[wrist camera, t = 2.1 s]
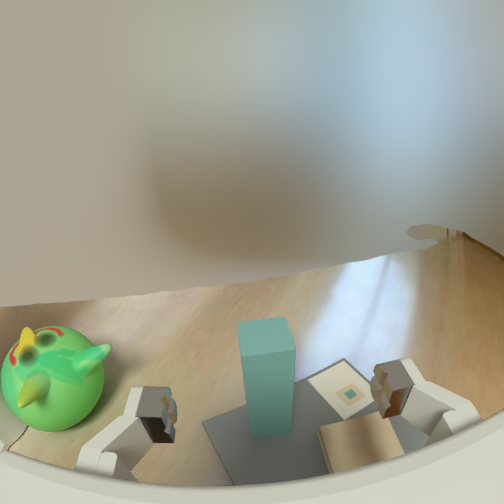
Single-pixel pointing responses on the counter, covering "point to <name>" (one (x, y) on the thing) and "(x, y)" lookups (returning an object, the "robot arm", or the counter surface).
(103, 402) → the counter surface
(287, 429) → the column
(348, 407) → the base plate
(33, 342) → the toy bird
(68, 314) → the counter surface
